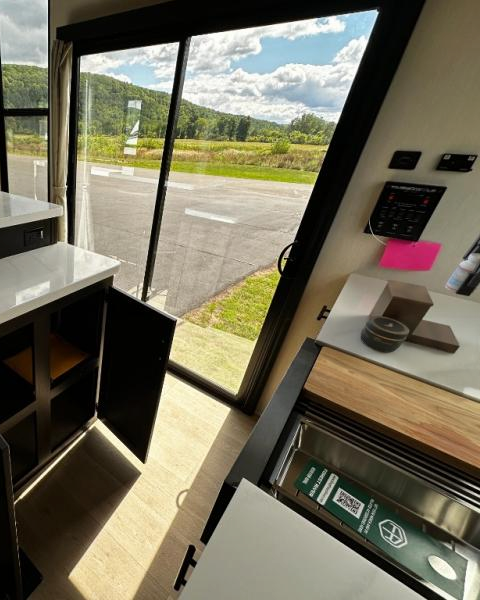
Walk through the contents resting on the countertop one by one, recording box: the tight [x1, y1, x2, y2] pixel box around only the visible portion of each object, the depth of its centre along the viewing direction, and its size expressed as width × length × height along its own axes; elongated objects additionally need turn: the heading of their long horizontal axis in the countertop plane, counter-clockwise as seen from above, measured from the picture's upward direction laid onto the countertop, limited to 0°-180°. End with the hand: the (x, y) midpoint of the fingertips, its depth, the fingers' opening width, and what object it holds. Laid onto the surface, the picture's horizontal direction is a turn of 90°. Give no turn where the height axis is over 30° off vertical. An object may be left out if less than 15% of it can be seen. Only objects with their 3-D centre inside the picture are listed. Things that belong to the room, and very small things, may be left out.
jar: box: [359, 316, 409, 353], centre depth 101 cm, size 10×10×8 cm
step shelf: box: [368, 279, 461, 354], centre depth 103 cm, size 20×12×15 cm, turn 56°
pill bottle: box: [444, 253, 480, 295], centre depth 92 cm, size 6×6×11 cm
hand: (459, 289), depth 95 cm, fingers closed on pill bottle, 6 cm apart
